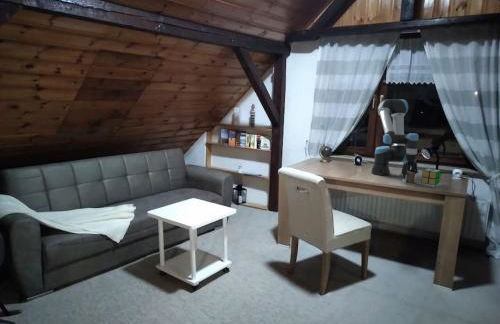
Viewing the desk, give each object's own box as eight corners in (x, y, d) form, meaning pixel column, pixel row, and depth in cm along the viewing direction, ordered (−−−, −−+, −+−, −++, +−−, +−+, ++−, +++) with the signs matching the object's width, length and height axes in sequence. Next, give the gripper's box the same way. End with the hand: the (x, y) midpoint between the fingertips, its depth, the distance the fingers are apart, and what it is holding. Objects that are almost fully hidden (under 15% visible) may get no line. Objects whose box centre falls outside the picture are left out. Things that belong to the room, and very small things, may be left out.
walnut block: (402, 181, 278) (403, 171, 276) (407, 180, 281) (408, 171, 279) (409, 183, 273) (410, 173, 271) (414, 182, 276) (415, 172, 274)
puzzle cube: (425, 180, 277) (426, 168, 275) (439, 183, 270) (440, 170, 268) (421, 183, 270) (422, 170, 268) (435, 185, 263) (436, 172, 261)
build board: (416, 183, 272) (416, 182, 272) (426, 181, 279) (427, 180, 279) (433, 188, 260) (433, 186, 260) (444, 185, 268) (444, 184, 268)
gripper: (406, 155, 263) (403, 184, 268) (424, 153, 275) (421, 181, 279) (397, 154, 269) (395, 182, 274) (415, 151, 281) (412, 179, 285)
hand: (408, 181), depth 277 cm, fingers open, 10 cm apart
